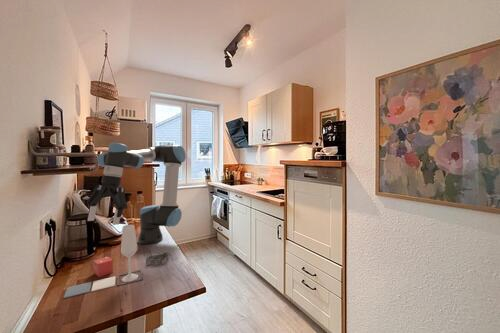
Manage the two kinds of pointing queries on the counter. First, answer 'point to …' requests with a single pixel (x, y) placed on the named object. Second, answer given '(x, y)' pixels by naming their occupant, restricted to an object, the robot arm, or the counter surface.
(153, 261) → the egg carton
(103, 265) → the red die
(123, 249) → the champagne flute
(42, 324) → the counter surface
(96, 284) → the game track
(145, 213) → the robot arm
